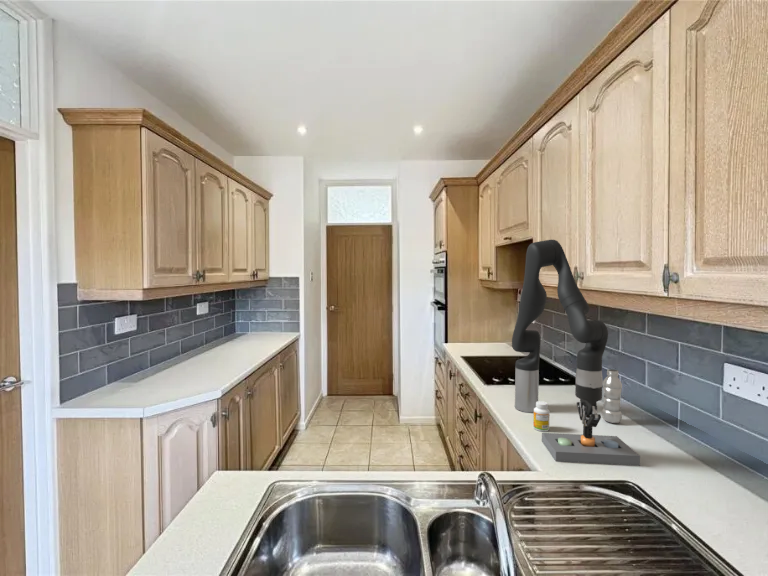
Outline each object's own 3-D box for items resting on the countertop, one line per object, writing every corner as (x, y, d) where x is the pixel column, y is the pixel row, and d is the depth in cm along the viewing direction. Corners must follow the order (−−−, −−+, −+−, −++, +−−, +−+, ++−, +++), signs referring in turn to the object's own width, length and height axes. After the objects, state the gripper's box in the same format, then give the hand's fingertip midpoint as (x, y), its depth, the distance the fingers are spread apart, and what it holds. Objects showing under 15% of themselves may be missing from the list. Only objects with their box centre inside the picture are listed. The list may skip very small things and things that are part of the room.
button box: (541, 441, 131) (541, 432, 131) (616, 444, 128) (616, 436, 128) (555, 461, 117) (555, 451, 117) (639, 465, 115) (640, 455, 114)
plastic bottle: (616, 426, 144) (618, 373, 143) (598, 420, 149) (599, 369, 149) (625, 423, 147) (626, 371, 147) (606, 417, 153) (608, 367, 152)
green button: (556, 444, 126) (556, 437, 126) (568, 445, 125) (569, 438, 125) (560, 450, 122) (560, 442, 122) (573, 450, 121) (573, 443, 121)
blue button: (601, 446, 124) (601, 439, 124) (614, 447, 124) (614, 440, 124) (607, 452, 120) (607, 445, 120) (620, 453, 120) (620, 445, 120)
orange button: (578, 441, 125) (578, 434, 125) (591, 442, 124) (591, 435, 124) (583, 447, 121) (583, 439, 121) (597, 447, 120) (597, 440, 120)
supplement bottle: (536, 424, 145) (536, 399, 145) (551, 428, 142) (551, 402, 142) (531, 429, 141) (531, 403, 141) (546, 433, 138) (547, 406, 137)
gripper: (568, 377, 129) (567, 428, 129) (584, 388, 116) (583, 445, 116) (592, 378, 128) (591, 429, 129) (611, 389, 115) (609, 447, 115)
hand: (587, 437), depth 122 cm, fingers closed
